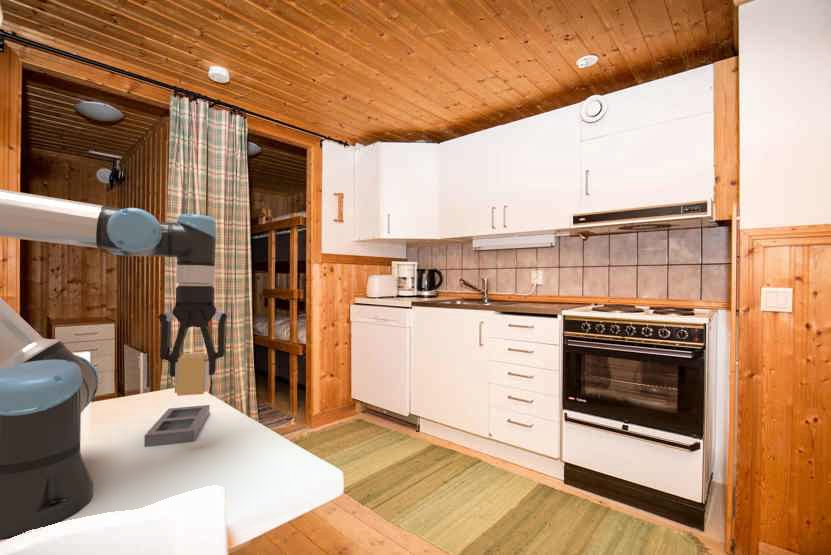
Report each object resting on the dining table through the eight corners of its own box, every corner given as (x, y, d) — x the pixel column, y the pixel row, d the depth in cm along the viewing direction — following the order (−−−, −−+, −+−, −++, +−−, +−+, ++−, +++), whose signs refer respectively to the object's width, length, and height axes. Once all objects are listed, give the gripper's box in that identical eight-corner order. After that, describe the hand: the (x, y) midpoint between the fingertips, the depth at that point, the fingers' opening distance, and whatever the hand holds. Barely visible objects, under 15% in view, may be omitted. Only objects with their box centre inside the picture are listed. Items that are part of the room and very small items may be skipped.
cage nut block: (203, 394, 87) (204, 357, 87) (177, 395, 85) (178, 358, 85) (207, 388, 91) (208, 353, 92) (182, 389, 90) (183, 354, 90)
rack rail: (194, 441, 93) (194, 430, 93) (144, 446, 90) (144, 435, 90) (209, 413, 112) (209, 404, 112) (168, 417, 109) (168, 408, 109)
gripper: (241, 285, 95) (238, 383, 95) (153, 284, 89) (150, 388, 89) (237, 285, 88) (235, 391, 88) (142, 284, 82) (139, 398, 82)
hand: (192, 390), depth 88 cm, fingers closed on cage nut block, 5 cm apart
